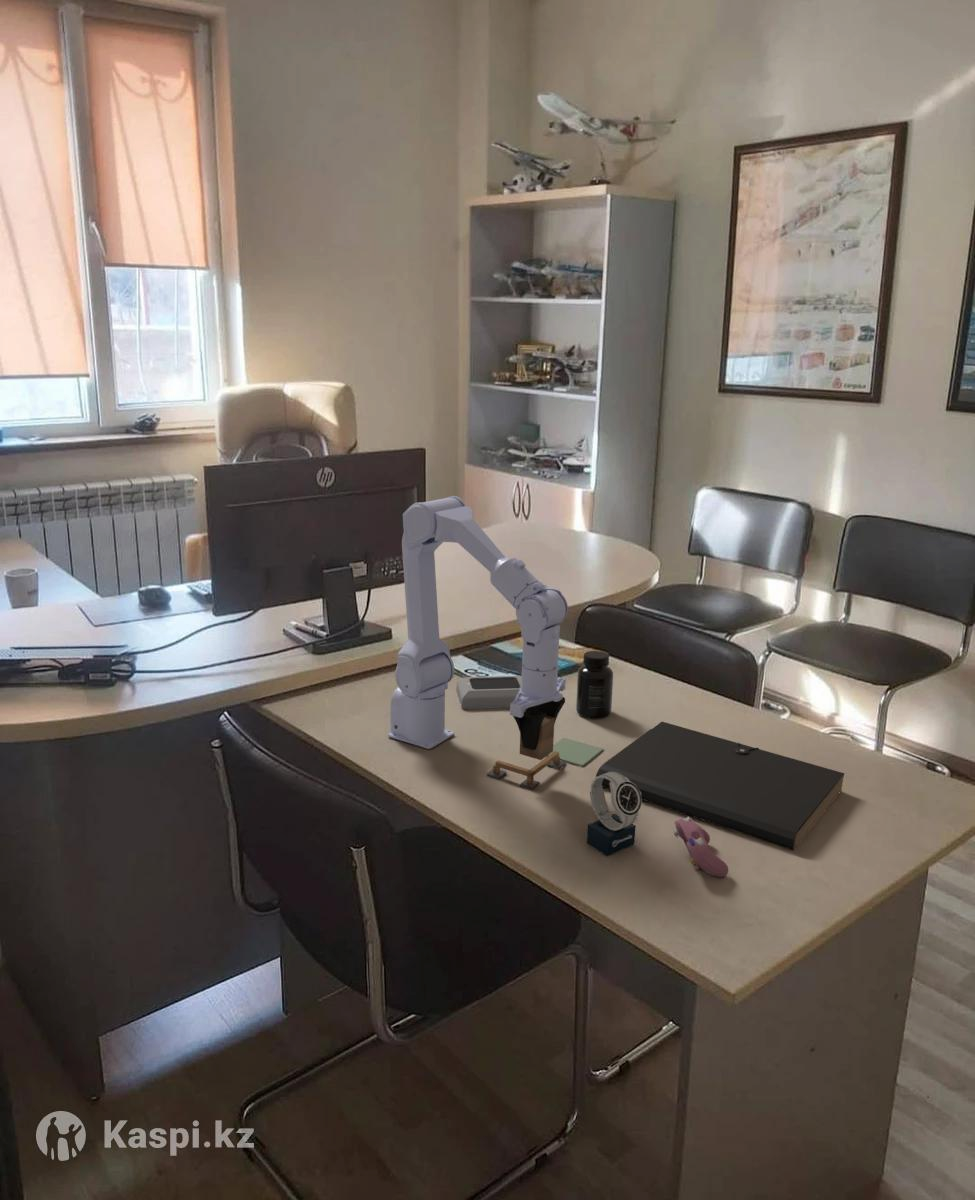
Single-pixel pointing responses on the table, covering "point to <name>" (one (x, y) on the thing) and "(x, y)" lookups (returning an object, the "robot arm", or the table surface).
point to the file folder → (727, 783)
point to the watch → (613, 829)
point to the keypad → (488, 691)
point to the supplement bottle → (594, 686)
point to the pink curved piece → (699, 847)
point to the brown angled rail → (529, 783)
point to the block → (541, 740)
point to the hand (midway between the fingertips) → (536, 743)
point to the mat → (575, 751)
